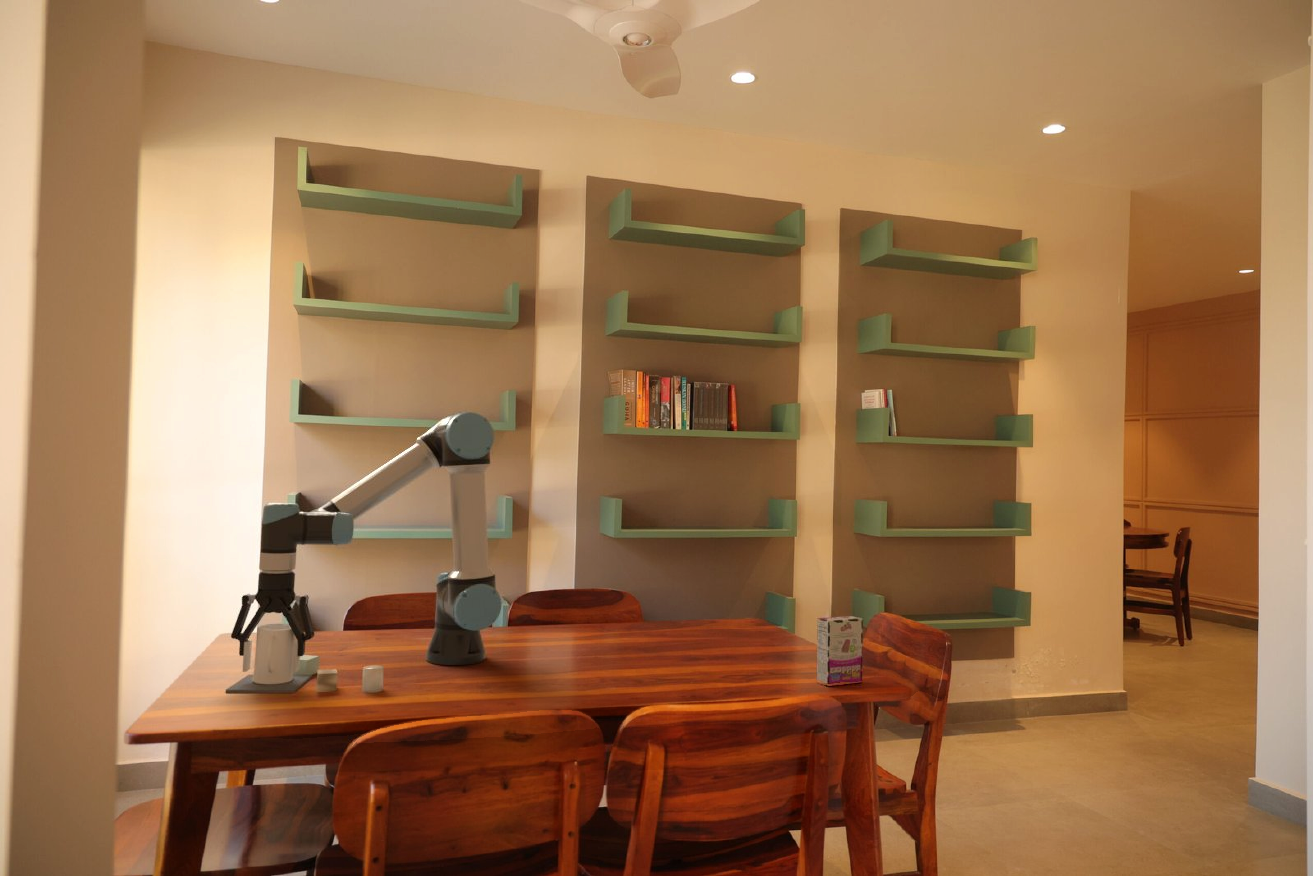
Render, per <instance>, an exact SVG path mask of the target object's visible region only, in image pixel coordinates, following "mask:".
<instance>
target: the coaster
mask: <svg viewBox="0 0 1313 876" xmlns="http://www.w3.org/2000/svg"><path fill="white" fill-rule="evenodd" d="M253 675H254V674H248V675H245V676H244V677H243V678H241V679H240V680H238V681H237V682H236V683H234V684H233V685H231V686H229V687H228V688H226V689H225V693H226V694H228V693H229V694H230V693H233V694H235V693H237V694H239V693H240V694H241V693H242V694H244V693H245V694H246V693H247V694H250V693H253V694H295V692H296V691H298V690H299V689H300V688H301V687H302V686H304V684H306V683H307V682H309V680H311V679H312V675H293V680H292V681H290V682H287V683H282V684H272V685H265V684H257V683H254V682H253V681H252V678H253Z"/></svg>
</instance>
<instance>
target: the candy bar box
mask: <svg viewBox="0 0 1313 876" xmlns="http://www.w3.org/2000/svg"><path fill="white" fill-rule="evenodd" d="M863 621H864V619H863V618H862V617H857V616H854V615H846V616H832V617H818V618H817V635H816V637H817V640H816V646H817V647H816V649H817V651H816V652H817V653H816V681H817V680H818V681H820V682H824V683H827V684H833V683H840V682H858V681H862V682H863V637H864V636H863V634H864V633H863V630H864V629H863V628H864V627H863V624H864V623H863Z"/></svg>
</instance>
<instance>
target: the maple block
mask: <svg viewBox="0 0 1313 876" xmlns="http://www.w3.org/2000/svg"><path fill="white" fill-rule="evenodd" d="M316 674H317V675H316V693H323V692H324V693H325V692H337V685H338V670H337V668H332V669H330V668H329V669H328V668H327V669H319V670H317V673H316Z"/></svg>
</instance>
